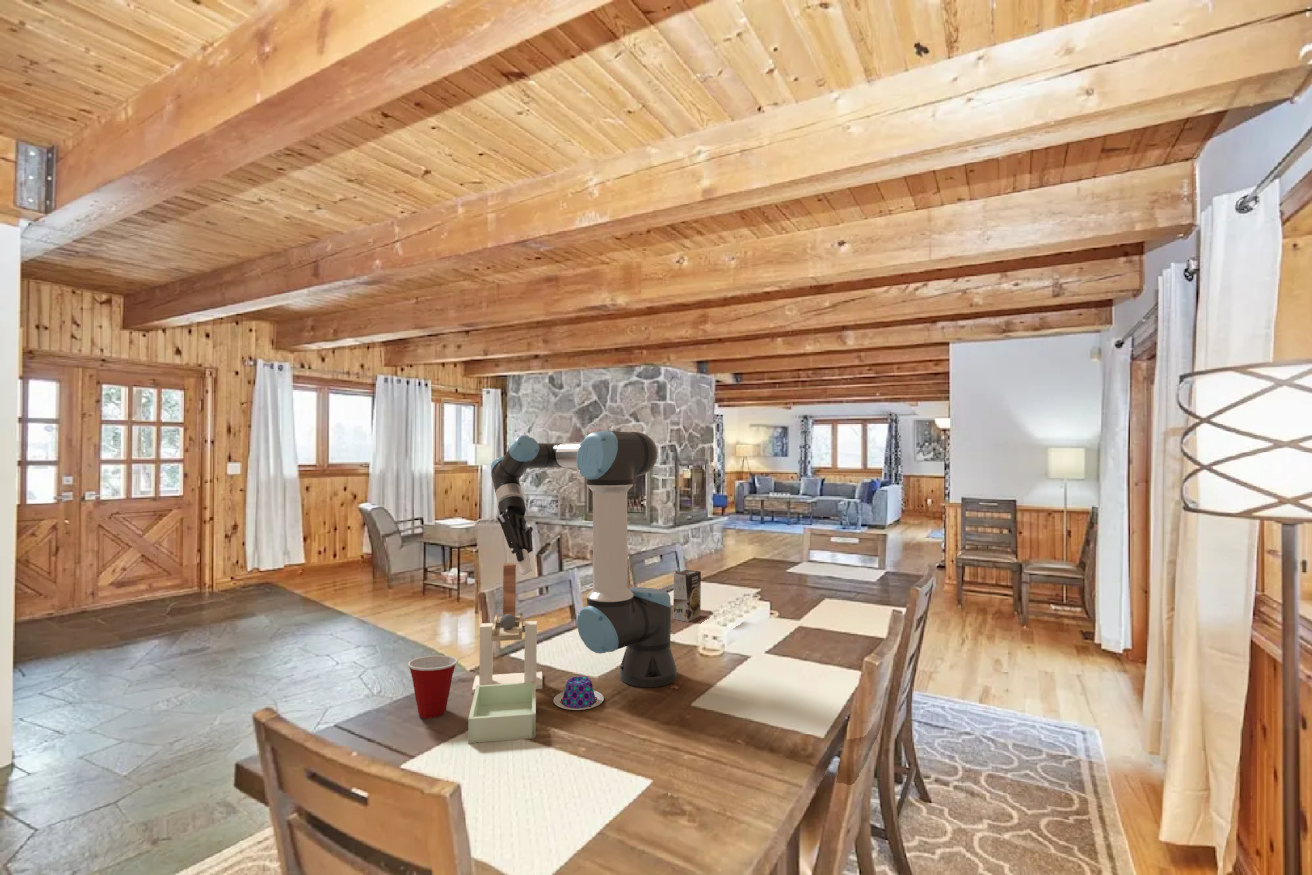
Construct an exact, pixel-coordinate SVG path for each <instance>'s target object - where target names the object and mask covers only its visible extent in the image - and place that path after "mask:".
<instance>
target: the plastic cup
mask: <svg viewBox="0 0 1312 875" xmlns="http://www.w3.org/2000/svg"><path fill="white" fill-rule="evenodd" d="M458 662H459V659H458V658H456V657H455V656H451V655H450V656H449V655H427V656H423V657H417V658H414V659H412V660H410V661H408V663H407V666H408V669H409V670H410V673H411V679H412V684H413V691H414V697H415V702H416V707H417V708H416V709H417V712H418V715H419V718H423V719H434V718H438V717H441V716H443V715H444V714H445V713H446V710H447V706H448V700H449V696H450V690H451V686H452V679H453V674H454V672H455V668H456V665H457V663H458Z"/></svg>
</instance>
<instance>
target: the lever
mask: <svg viewBox="0 0 1312 875" xmlns="http://www.w3.org/2000/svg"><path fill="white" fill-rule="evenodd" d="M516 568H517V563H516V562H504V563H503V572H502V573H503V576H502V578H503V582H502V584H503V585H502V586H503V587H502V616H504V615H505V614H511V615H513V616H514V618H515V625H514V626H513V627H512V628H511V629H504V628H502V626H501V624H500V620H501V618H502V616H499V614H494V615H495V616H494V619H493V622H492V623H493V627H492V636H491V641H493V642H500V641H501V642H502V641H503V642H504V641H521V640H523V632H522V631H523V626H524V615H523V613H522V612H520V614H519V615H516V603H517V602H516V596H517V594H516V592H517V591H516V590H517V589H516V588H517V587H516V586H517V580H516V579H517V575H516V574H517V569H516Z"/></svg>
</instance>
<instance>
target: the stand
mask: <svg viewBox="0 0 1312 875" xmlns="http://www.w3.org/2000/svg"><path fill="white" fill-rule="evenodd" d="M493 623H494V622H488V623H487V622H486V623H483V622H482V623H480V626H479V672H478V673H479V675H475V676H474V681H473V684H472V689H471V694H474V693H475V689H476V686H479V685H494V684H510V683H525V682H536V690H543V671H537V663H538V661H537V657H538V656H537V651H538V650H537V649H538V648H537V646H538V645H537V642H538V641H537V640H538V637H537V636H538V633H537V632H538V629H537V628H538V621H537V620H531V621H530V620H529V621H528V620H527V621H524V625H523V631H522V633H524V660H523V661H524V665H523V667H524V672H514V673H513V672H512V673H499V674H493V671H494V670H493V669H494V668H493V666H494V665H493V662H494V661H493V659H494V657H493V656H494V655H493V654H494V652H493V651H494V641H491V636H492V627H493Z"/></svg>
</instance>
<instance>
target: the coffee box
mask: <svg viewBox="0 0 1312 875" xmlns="http://www.w3.org/2000/svg"><path fill="white" fill-rule="evenodd" d="M701 585H702V571H700V570H691V569H685V570H682V571H678V572H674V573H673V601H672V602H673V609H672V610H673V612H672V614H673V615H672V619H673V620H676V621H681V622H686V623H688V622H691V621H693V620H695V619H697V618H699V617H701V610H702V609H701V607H702V606H701V604H702V603H701V601H702V600H701V598H702V597H701V595H702V594H701V592H702V591H701V590H702V589H701V588H702V586H701Z"/></svg>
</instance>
